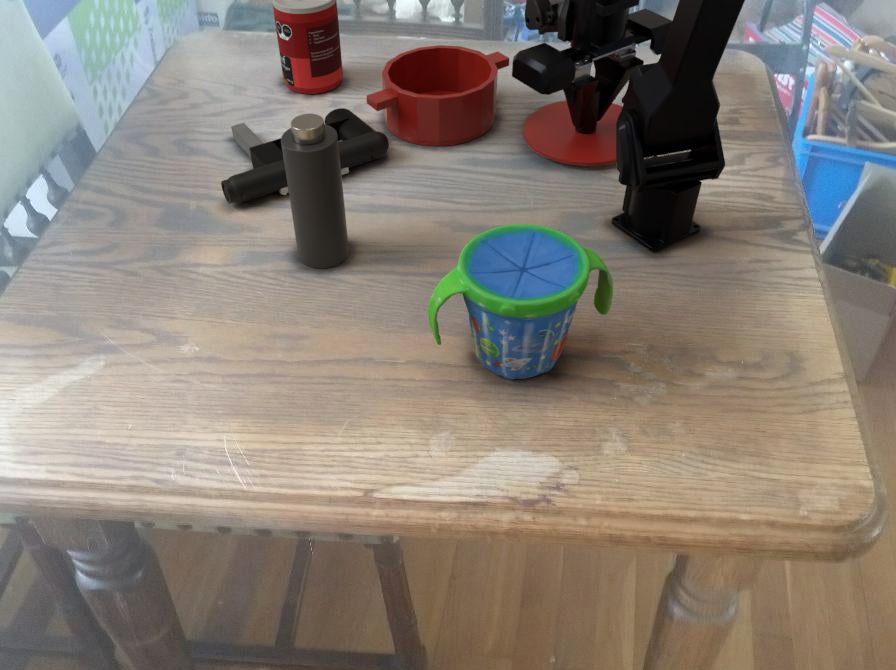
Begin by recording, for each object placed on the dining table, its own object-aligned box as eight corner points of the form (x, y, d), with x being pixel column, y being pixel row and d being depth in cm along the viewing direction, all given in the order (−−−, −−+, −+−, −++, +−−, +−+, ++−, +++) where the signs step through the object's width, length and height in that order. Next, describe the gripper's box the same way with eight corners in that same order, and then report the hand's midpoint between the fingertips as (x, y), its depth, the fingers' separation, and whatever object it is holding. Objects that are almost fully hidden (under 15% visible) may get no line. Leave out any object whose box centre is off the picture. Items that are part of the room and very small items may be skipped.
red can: (290, 68, 117) (279, -17, 109) (348, 68, 116) (341, -17, 108) (277, 94, 112) (265, 8, 104) (338, 96, 111) (330, 8, 103)
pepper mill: (358, 256, 87) (346, 124, 77) (313, 275, 86) (294, 142, 75) (333, 232, 91) (318, 101, 80) (289, 249, 89) (268, 118, 78)
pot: (534, 116, 105) (538, 68, 101) (404, 165, 99) (402, 116, 94) (470, 76, 113) (471, 30, 109) (346, 118, 107) (342, 72, 103)
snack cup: (436, 405, 73) (436, 312, 65) (421, 323, 80) (419, 232, 72) (619, 386, 73) (639, 292, 66) (588, 306, 80) (602, 214, 73)
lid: (674, 144, 99) (685, 94, 95) (576, 185, 94) (583, 133, 90) (591, 96, 108) (597, 48, 103) (497, 131, 103) (500, 82, 99)
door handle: (183, 134, 102) (230, 190, 91) (335, 89, 107) (397, 137, 97) (189, 159, 104) (236, 218, 93) (338, 114, 110) (399, 164, 99)
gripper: (620, -61, 96) (602, 74, 108) (484, -20, 90) (479, 119, 101) (694, -32, 89) (666, 110, 101) (551, 15, 83) (539, 160, 95)
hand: (586, 123), depth 100 cm, fingers closed on lid, 2 cm apart
